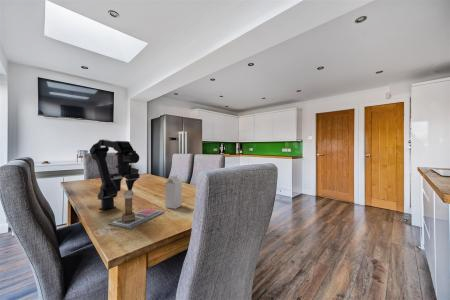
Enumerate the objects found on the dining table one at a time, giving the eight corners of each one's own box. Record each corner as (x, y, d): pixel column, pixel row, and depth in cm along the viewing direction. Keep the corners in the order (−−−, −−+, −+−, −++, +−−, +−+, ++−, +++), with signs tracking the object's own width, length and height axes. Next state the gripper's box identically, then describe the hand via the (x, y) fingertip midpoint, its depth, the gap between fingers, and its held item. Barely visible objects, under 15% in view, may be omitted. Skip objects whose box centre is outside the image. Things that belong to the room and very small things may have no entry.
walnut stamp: (122, 219, 93) (122, 189, 93) (133, 217, 96) (133, 188, 96) (123, 222, 89) (123, 191, 89) (135, 220, 92) (135, 190, 92)
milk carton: (181, 205, 118) (181, 175, 118) (175, 209, 111) (175, 177, 111) (172, 204, 120) (172, 175, 120) (165, 207, 113) (165, 176, 113)
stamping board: (107, 224, 88) (107, 220, 88) (144, 209, 110) (144, 206, 110) (130, 229, 83) (130, 225, 83) (164, 212, 105) (164, 209, 105)
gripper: (147, 162, 107) (148, 189, 107) (125, 162, 115) (126, 187, 115) (129, 163, 97) (130, 193, 97) (107, 164, 105) (108, 191, 105)
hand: (124, 191), depth 104 cm, fingers open, 9 cm apart
